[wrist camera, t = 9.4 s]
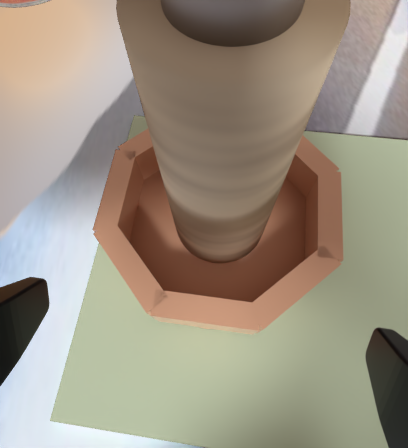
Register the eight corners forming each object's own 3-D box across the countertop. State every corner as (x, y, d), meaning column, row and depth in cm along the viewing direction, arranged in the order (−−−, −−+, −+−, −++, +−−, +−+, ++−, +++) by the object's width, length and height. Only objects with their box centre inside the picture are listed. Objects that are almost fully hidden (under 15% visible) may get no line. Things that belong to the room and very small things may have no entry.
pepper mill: (261, 268, 18) (387, 35, 5) (168, 257, 18) (64, 13, 5) (266, 186, 20) (367, -133, 7) (183, 178, 20) (132, -140, 7)
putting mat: (666, 523, 14) (678, 528, 14) (53, 419, 16) (49, 420, 16) (550, 157, 21) (556, 154, 21) (135, 119, 23) (133, 115, 23)
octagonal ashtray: (323, 345, 17) (345, 343, 14) (94, 313, 18) (71, 304, 15) (322, 148, 22) (339, 116, 19) (141, 131, 22) (130, 98, 20)
